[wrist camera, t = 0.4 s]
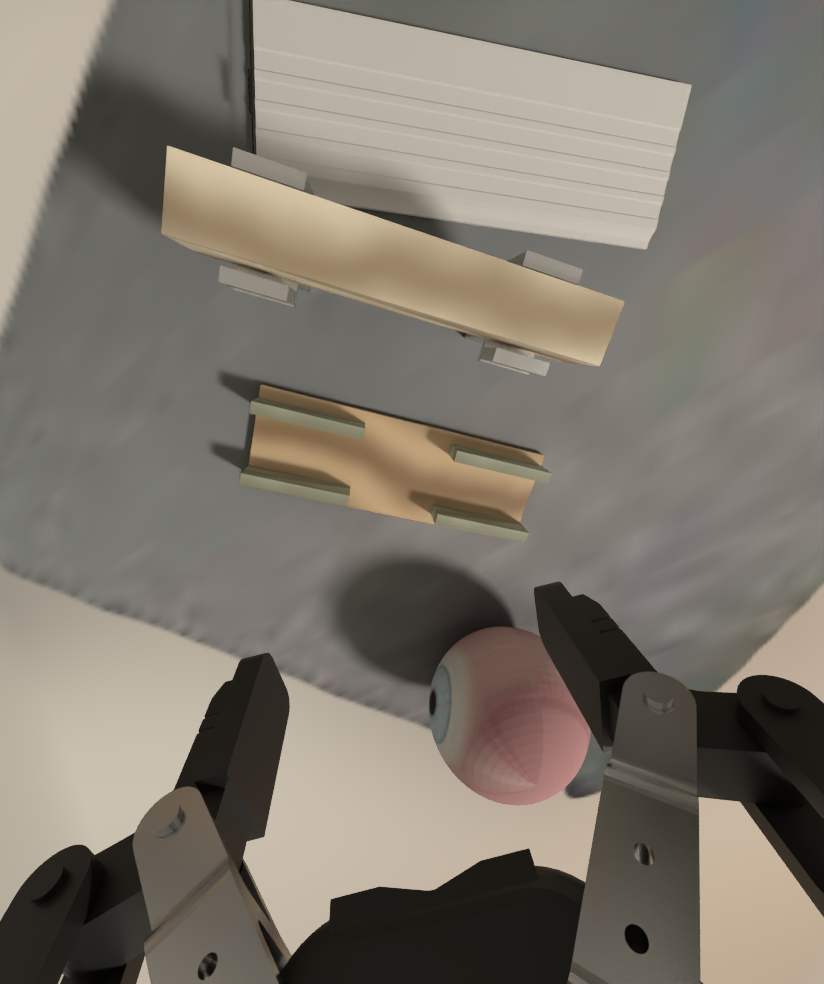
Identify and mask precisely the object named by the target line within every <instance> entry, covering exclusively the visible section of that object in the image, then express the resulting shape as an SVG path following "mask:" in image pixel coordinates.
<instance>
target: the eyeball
mask: <svg viewBox="0 0 824 984" xmlns="http://www.w3.org/2000/svg"><path fill="white" fill-rule="evenodd" d="M429 718H430V725H431V729H432V733H433V737H434V740H435V742H436V745H437V748H438V750H439V752H440V754H441V756H442V757H443V759H444V761H445V762H446V764H447V765H448V767H449V768H450V769H451V771H452V772H453V773H454V774H455V775H456V776H457V778H458V779H459V780H460V781H462V782H463V783H464V784H465V785H466V786H467V787H469V788H470V789H471V790H473V791H474V792H476V793H477V794H479V795H481V796H483V797H485V798H487V799H489V800H492V801H495V802H498V803H502V804H510V805H528V804H533V803H537V802H541V801H543V800H545V799H548V798H550V797H552V796H554V795H555V794H557V793H558V792H560V791H561V790H562V789H564V788H565V787H566V786H567V785H568V784H569V783H570V782H571V780H572V779H573V778H574V777H575V775H576V774H577V772H578V771H579V769H580V767H581V765H582V763H583V761H584V759H585V756H586V753H587V750H588V745H589V740H590V728H589V726H588V724H587V722H586V721H585V719H584V717H583V715H582V713H581V712H580V710H579V708H578V706H577V705H576V703H575V701H574V699H573V697H572V696H571V694H570V692H569V690H568V688H567V687H566V685H565V683H564V681H563V679H562V678H561V676H560V674H559V672H558V671H557V669H556V667H555V665H554V663H553V662H552V660H551V658H550V656H549V654H548V653H547V651H546V649H545V647H544V645H543V642H542V639H541V637H539V636H537V635H535V634H533V633H531V632H528V631H525V630H522V629H518V628H513V627H490V628H485V629H481V630H478V631H475V632H473V633H471V634H469V635H467V636H465V637H464V638H462V639H461V640H459V641H458V642H457V643H456V644H455V645H453V646H452V647H451V649H450V650H449V651H448V652H447V653H446V654H445V656H444V657H443V659H442V660H441V662H440V663H439V665H438V667H437V669H436V672H435V674H434V677H433V680H432V684H431V688H430V695H429Z"/></svg>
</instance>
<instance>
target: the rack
mask: <svg viewBox="0 0 824 984" xmlns="http://www.w3.org/2000/svg"><path fill="white" fill-rule="evenodd" d="M249 414H253V415H256V419H255V425H254V432H253V439H252V446H251V452H250V459H249V465H248V466H247V467H246V468H245V469H244V470H243V472H242V473H241V476H240V483H239V485H244V486H248V487H253V488H258V489H263V490H268V491H273V492H278V493H283V494H288V495H293V496H298V497H303V498H307V499H312V500H317V501H322V502H327V503H332V504H337V505H342V506H347V507H352V508H357V509H362V510H367V511H372V512H377V513H382V514H387V515H391V516H396V517H401V518H406V519H411V520H416V521H421V522H426V523H431V524H436V525H441V526H446V527H451V528H456V529H461V530H466V531H470V532H475V533H480V534H485V535H490V536H495V537H500V538H505V539H510V540H515V541H520V542H526V540H527V537H528V535H529V533H528V531H527V530H526V529H525V528H524V527H523V526H522V525H521V523H520V520H521V517H522V514H523V512H524V509H525V506H526V504H527V501H528V498H529V496H530V493H531V490H532V488H533V485H534V482H535V481H538V482H542V483H547V484H548V483H549V480H550V477H551V475H552V473H551V472H549V471H548V470H546V469H545V468H543V467H542V466H541V464H542V461H543V458H544V455H543V454H539V453H535V452H531V451H527V450H523V449H519V448H515V447H511V446H507V445H503V444H499V443H495V442H491V441H487V440H483V439H479V438H475V437H471V436H467V435H463V434H459V433H455V432H451V431H447V430H443V429H439V428H435V427H431V426H427V425H423V424H419V423H415V422H411V421H407V420H403V419H399V418H395V417H391V416H387V415H383V414H379V413H375V412H371V411H367V410H363V409H359V408H355V407H351V406H347V405H343V404H339V403H335V402H331V401H327V400H323V399H319V398H315V397H311V396H307V395H303V394H299V393H295V392H291V391H287V390H283V389H279V388H275V387H271V386H267V385H263V384H262V385H260V392H259V397H258V398H256V399H254V400H252V401H251V406H250V413H249Z"/></svg>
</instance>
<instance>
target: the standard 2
mask: <svg viewBox="0 0 824 984" xmlns="http://www.w3.org/2000/svg"><path fill="white" fill-rule="evenodd" d="M507 262H510V263H513V264H516V265H519V266H522V267H525V268H528V269H531V270H534V271H537V272H540V273H543V274H546V275H548V276H551V277H554V278H557V279H560V280H563V281H566V282H569V283H572V284H575V285H578V283H579V280H580V278H581V275H582V272H583V269H580V268H577V267H574V266H571V265H568V264H565V263H563V262H560V261H557V260H554V259H551V258H548V257H545V256H543V255H540V254H537V253H534V252H531V251H528V250H527V251H525V252H523V253H521V254H519V255H518V256H516V257H514V258H510V259H508V261H507ZM464 338H468V339H471V340H475V341H478V342H481V343H483V344H482V348H481V351H480V354H479V358H478V361H482V362H485V363H489V364H492V365H496V366H499V367H503V368H506V369H510V370H513V371H517V372H520V373H523V374H529V373H531V374H536V375H541V376H546V374H547V371H548V368H549V365H550V363H547V362H544V361H540V360H537V359H534V356H535V354H534V353H530V352H527V351H524V350H520V349H517V348H514V347H510V346H507V345H504V344H500V343H497V342H494V341H490V340H487V339H484V338H480V337H477V336H473V335H470V334H467V333H465V335H464Z"/></svg>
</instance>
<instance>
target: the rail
mask: <svg viewBox="0 0 824 984" xmlns="http://www.w3.org/2000/svg"><path fill="white" fill-rule="evenodd" d="M161 234H163V235H165V236H167V237H169V238H171V239H172V240H174V241H176V242H178V243H180V244H182V245H184V246H185V247H187V248H189V249H191V250H193V251H195V252H197V253H199V254H203V255H206V256H209V257H213V258H216V259H219V260H223V261H226V262H230V263H233V264H236V265H240V266H243V267H246V268H250V269H253V270H256V271H260V272H263V273H266V274H270V275H273V276H276V277H280V278H283V279H286V280H290V281H293V282H296V283H300V284H303V285H306V286H310V287H313V288H316V289H320V290H323V291H326V292H330V293H333V294H336V295H340V296H343V297H346V298H350V299H353V300H357V301H360V302H363V303H367V304H370V305H373V306H377V307H380V308H383V309H387V310H390V311H393V312H397V313H400V314H403V315H407V316H410V317H413V318H417V319H420V320H423V321H427V322H430V323H433V324H437V325H440V326H443V327H447V328H450V329H453V330H457V331H460V332H463V333H467V334H470V335H473V336H477V337H480V338H484V339H487V340H490V341H494V342H497V343H500V344H504V345H507V346H510V347H514V348H517V349H520V350H524V351H527V352H530V353H534V354H537V355H540V356H544V357H547V358H550V359H554V360H557V361H560V362H564V363H573V364H583V365H593V366H600V364H601V361H602V359H603V356H604V354H605V351H606V349H607V346H608V343H609V341H610V338H611V336H612V333H613V331H614V328H615V326H616V323H617V320H618V318H619V315H620V313H621V310H622V308H623V305H624V302H625V301H622V300H619V299H616V298H613V297H610V296H607V295H604V294H601V293H598V292H595V291H592V290H589V289H587V288H584V287H581V286H578V285H575V284H572V283H569V282H566V281H563V280H560V279H557V278H554V277H551V276H548V275H546V274H543V273H540V272H537V271H534V270H531V269H528V268H525V267H522V266H519V265H516V264H513V263H510V262H507V261H505V260H502V259H499V258H496V257H493V256H490V255H487V254H484V253H481V252H478V251H475V250H472V249H469V248H466V247H464V246H461V245H458V244H455V243H452V242H449V241H446V240H443V239H440V238H437V237H434V236H431V235H428V234H425V233H422V232H420V231H417V230H414V229H411V228H408V227H405V226H402V225H399V224H396V223H393V222H390V221H387V220H384V219H381V218H379V217H376V216H373V215H370V214H367V213H364V212H361V211H358V210H355V209H352V208H349V207H346V206H343V205H340V204H338V203H335V202H332V201H329V200H326V199H323V198H320V197H317V196H314V195H311V194H308V193H305V192H302V191H299V190H297V189H294V188H291V187H288V186H285V185H282V184H279V183H276V182H273V181H270V180H267V179H264V178H261V177H258V176H256V175H253V174H250V173H247V172H244V171H241V170H238V169H235V168H232V167H229V166H226V165H223V164H220V163H217V162H214V161H212V160H209V159H206V158H203V157H200V156H197V155H194V154H191V153H188V152H185V151H182V150H179V149H176V148H173V147H171V146H168V145H167V156H166V170H165V185H164V200H163V214H162V229H161Z"/></svg>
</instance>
